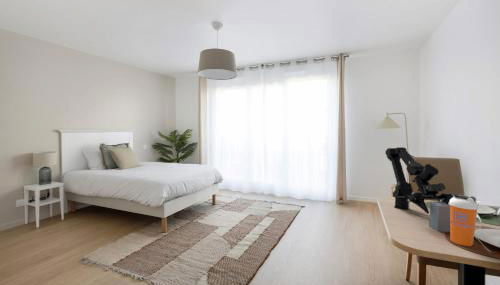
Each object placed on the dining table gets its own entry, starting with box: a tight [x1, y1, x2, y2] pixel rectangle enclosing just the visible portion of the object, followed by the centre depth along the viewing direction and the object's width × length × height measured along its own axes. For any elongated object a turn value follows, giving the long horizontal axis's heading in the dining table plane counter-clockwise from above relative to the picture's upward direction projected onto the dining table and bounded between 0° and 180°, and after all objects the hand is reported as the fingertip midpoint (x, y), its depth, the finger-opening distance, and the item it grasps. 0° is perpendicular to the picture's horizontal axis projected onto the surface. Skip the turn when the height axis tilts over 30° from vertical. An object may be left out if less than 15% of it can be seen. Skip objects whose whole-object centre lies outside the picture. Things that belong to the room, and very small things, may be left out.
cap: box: [428, 201, 450, 233], centre depth 111 cm, size 6×6×12 cm
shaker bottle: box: [449, 193, 479, 247], centre depth 98 cm, size 9×9×20 cm
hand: (438, 213), depth 112 cm, fingers open, 9 cm apart
